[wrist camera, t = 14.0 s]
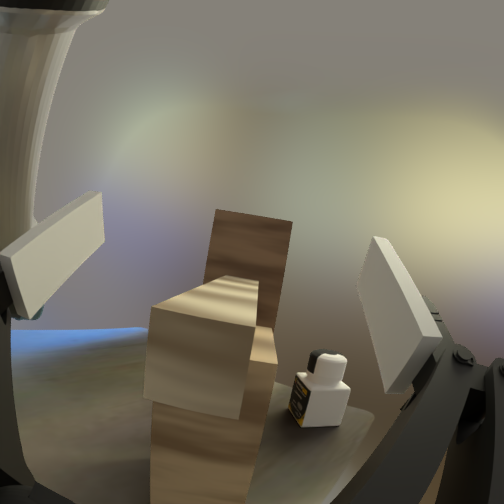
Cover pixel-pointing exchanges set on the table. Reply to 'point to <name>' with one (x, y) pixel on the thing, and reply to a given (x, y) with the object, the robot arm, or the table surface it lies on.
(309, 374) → the medicine bottle
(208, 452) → the base pedestal
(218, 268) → the stand
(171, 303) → the wooden block
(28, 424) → the table surface
